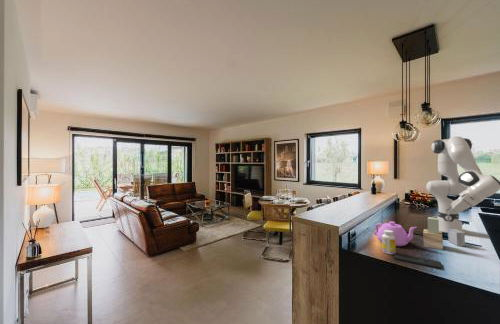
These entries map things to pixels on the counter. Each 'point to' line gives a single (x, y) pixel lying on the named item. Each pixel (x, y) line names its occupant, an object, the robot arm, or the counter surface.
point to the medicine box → (456, 237)
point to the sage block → (433, 225)
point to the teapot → (395, 233)
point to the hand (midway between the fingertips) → (446, 212)
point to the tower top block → (432, 236)
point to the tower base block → (433, 244)
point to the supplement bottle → (388, 242)
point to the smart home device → (418, 261)
